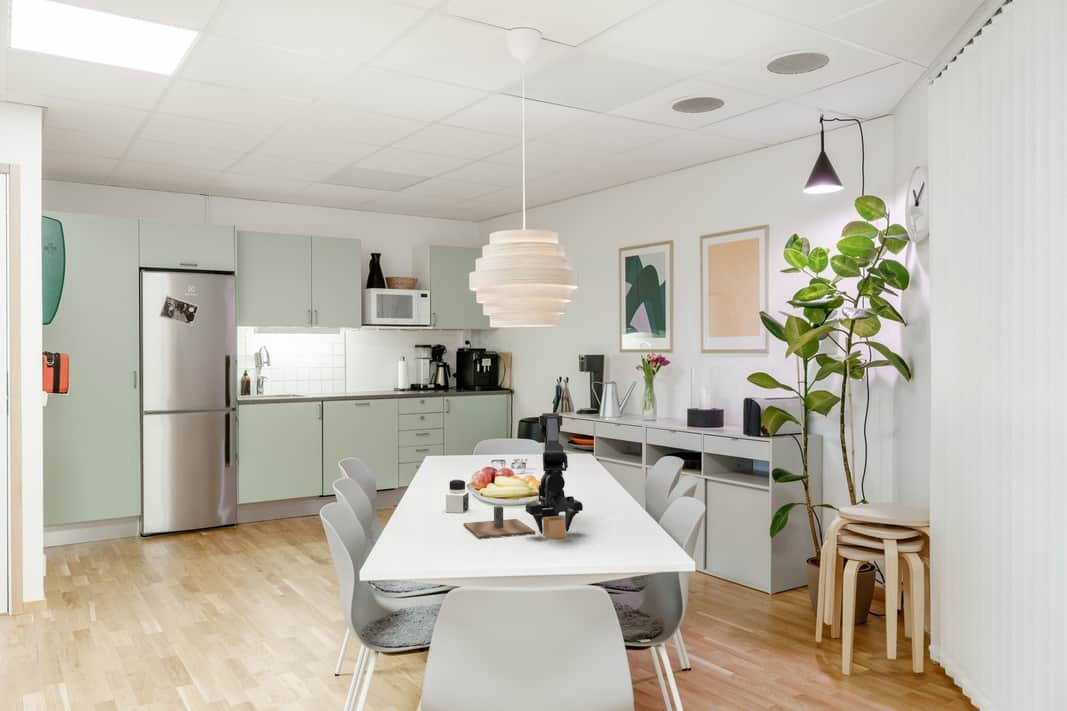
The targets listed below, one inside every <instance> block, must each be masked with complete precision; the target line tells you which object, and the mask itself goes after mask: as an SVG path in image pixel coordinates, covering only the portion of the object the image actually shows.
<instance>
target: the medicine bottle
mask: <svg viewBox="0 0 1067 711" xmlns="http://www.w3.org/2000/svg"><path fill="white" fill-rule="evenodd" d="M469 493H470V492H469V491H467V490H466V482H465V480H463V479H453V480H452V479H451V480H450V481H449V492H448V493H446V494H445V512H446V513H447V512H449V514H450V513H451V514H465V513H466V512H467V511H468V510H469V509H470V508H469V507H470V506H469V499H470V498H469Z"/></svg>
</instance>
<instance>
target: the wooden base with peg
mask: <svg viewBox="0 0 1067 711" xmlns="http://www.w3.org/2000/svg"><path fill="white" fill-rule="evenodd" d="M463 527H464V528H465V529H467V530H468V531H469V532H470V533H471V534H472V535H473V536H475V537H476V539H479V540H481V539H482V538H485V539H491V538H490V537H496V538H502V537H501V536H507V537H513V536H512V535H519V536H524V535H523V534H530V535H536V530H535V529H533V528H531V527H530V526H528V525H527V524H525V523H524V522H523V521H521V520H520V519H518V518H512V519H511V518H510V519H504V507H503V506H502V505H497V506H496V505H495V506H493V520H487V521H471V522H464V523H463Z"/></svg>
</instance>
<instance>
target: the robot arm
mask: <svg viewBox="0 0 1067 711" xmlns="http://www.w3.org/2000/svg"><path fill="white" fill-rule="evenodd" d="M538 426H539V427H540V429H541V430H540V431H541V433H542V435H543V436H544V452H542V470H543V472H544V474H543V475H542V477H541V478H540V484H539V485H538V492H537V494H538V497H537V499H538V502H527V503H526V504H525V512H526V513H528V514H529V515H531V516H532V517H533V519H534V520H535V523H536V525H537V528H538V531H539V533H540V534H541V535H543V517H553V516H560V517H561V515H560V513H564V517H565V518H564V519H565V523H566V533H567V532H569V530H570V528H571V524H572V522H573V519H574V517H575V516H576V515H578V514H579V513H580V512H581V511H583V510H584V505H583V503H582V502H581V501H580V500H578V499H575V498H574V496H573V495H572V496H566V495H565V490H564V488H565V484H566V483H565V482H566V481H565V478H564V476H563V474H564V473H563V472H566V471H567V469H568V468H569V463H568V462H569V461H568V460H569V459H568V455H567V453H566V452H565V451H564V446H563V444H561V443H560V433H561V427H562V426H563V415H560V414H559V412H558V413H554V412H550V413H549V412H548V413H547V412H545V413H542V414H541V415H539V416H538ZM539 502H540V503H539Z"/></svg>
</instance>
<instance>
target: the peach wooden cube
mask: <svg viewBox="0 0 1067 711" xmlns="http://www.w3.org/2000/svg"><path fill="white" fill-rule="evenodd" d="M560 516H561V515H559V516H553V517H543V518H542V526H543V534H542V535H543V536H544V537H545V538H547V539H548V540H551V539H552V540H553V538H554V539H563V538H566V533H567V531H566V523H565V518H564V517H560Z"/></svg>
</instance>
